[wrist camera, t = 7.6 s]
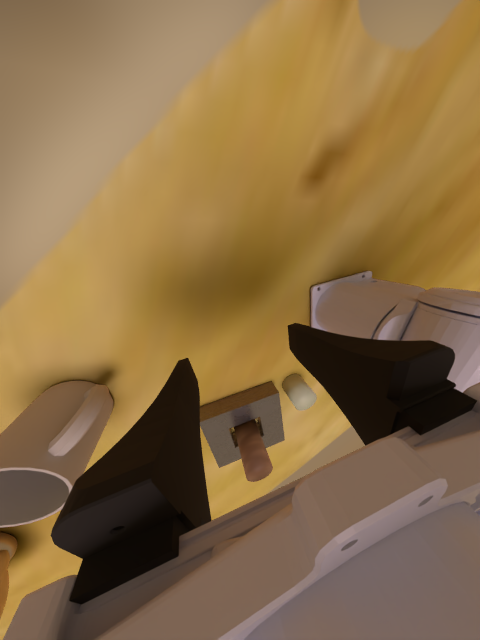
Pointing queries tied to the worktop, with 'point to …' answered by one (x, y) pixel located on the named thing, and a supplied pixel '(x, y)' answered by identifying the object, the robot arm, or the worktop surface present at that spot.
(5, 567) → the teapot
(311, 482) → the robot arm
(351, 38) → the worktop surface
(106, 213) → the worktop surface
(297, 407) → the pale cream cylinder
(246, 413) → the collar plate
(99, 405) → the cup
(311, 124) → the worktop surface
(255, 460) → the walnut dowel
